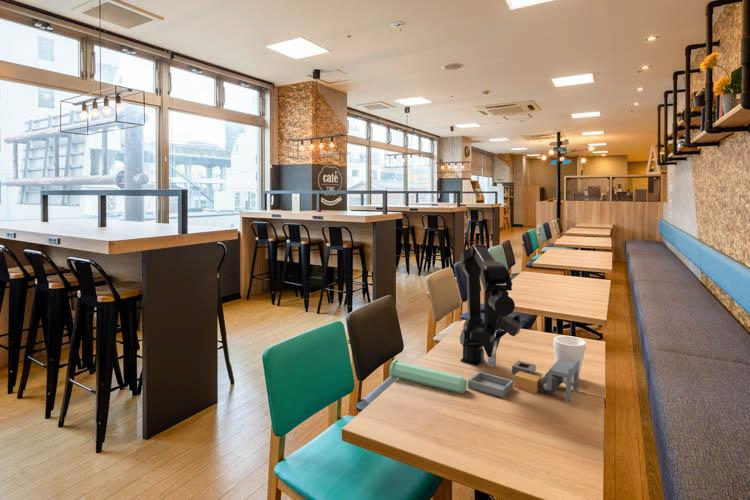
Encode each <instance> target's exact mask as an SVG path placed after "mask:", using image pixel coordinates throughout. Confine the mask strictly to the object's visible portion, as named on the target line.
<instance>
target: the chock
mask: <svg viewBox="0 0 750 500" xmlns="http://www.w3.org/2000/svg"><path fill="white" fill-rule="evenodd" d="M542 378H543V376H539V375H535V374H533V375H532V374H528V373H525V372H521V371H519V372H518V373H516V374H514V375H513V388H516V389H520V390H524V391H527V392H529V393H532V394H533V393H534V394H537V393H539V391H540V389H539V387H538V383H539V381H540V380H541V379H542Z"/></svg>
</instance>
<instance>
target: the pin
mask: <svg viewBox="0 0 750 500" xmlns="http://www.w3.org/2000/svg"><path fill="white" fill-rule="evenodd" d="M496 344H497V340H496V341H495V342H494V347H493V353H492V357H488V356H487V366H488V367H491V368H495V367H496V366H497V365H496V364H497V350H496Z"/></svg>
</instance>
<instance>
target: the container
mask: <svg viewBox="0 0 750 500" xmlns="http://www.w3.org/2000/svg"><path fill="white" fill-rule="evenodd" d="M388 370H389V371H388V373H389V374H388V375H389V377H390V378H399V379H402V380H404V381H405V380H406V381H411V382H413V383H417V384H422V385H426V386H430V387H433V388H437V389H441V390H446V391H451V392H453V393H459V394H463V393H465V392H466V389H467V388H468V379H466V378H465V377H464V376H462V375H457V374H453V373H449V372H444V371H440V370H436V369H431V368H427V367H424V366H423V367H422V366H419V365H413V364H410V363H405V362H400V361H399V360H398V359H393V360H392V361H391V363H390V365H389V368H388Z"/></svg>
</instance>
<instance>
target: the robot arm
mask: <svg viewBox="0 0 750 500" xmlns="http://www.w3.org/2000/svg"><path fill="white" fill-rule="evenodd" d="M459 262H460V265H461V270H462V271H463V273H464V274H465V276H466V292H467V293H466V295H467V299H466V301H467V317H466V320H465V321H464V323H463V326H462V327H463V329H462V330H461V332H460V335H459V343H460V344H461V346H462V358H461V359H460V362H463V363H466V364H470V365H474V366H479V365H480V364H481V363H482V362H484V361H485V358H484V357H485V353H486V356H487V358H488V357H492V353H493V347H494V342H495V341H496V340H497V344H496V351H497V350H498V347H499V345H500V341H501V338H502V337H504V336H505V335H507V334H508V335H509V336H512V337H516V336H517V335H518V334H520V331H521V329H522V328H523V327H524V326H523V325H524V324H523V320H522V316H521V315H518V314H516V315H515V316H512V315H511V314H512V313H514V310H515V307H516V304H515V301H514V300H513V298H511V297H510V296H509V292H510V291H512V290H513V288H512V286H513V281H512V278H511V275H510V272H509V270H508V268H507V267H506V266H505V264H503V263H502V262H498V261H496V259H495V258H494V257H493V256H492V255H491V253H490V252H489V249H488V246H487V245H485V244H472V245H471V246H469V247H468V248H467V249H464V250H462V252H461V254H460V257H459ZM481 283H482V288H483V290H484V291H483V293H484V294H483V308H482V307H481V306H482V305H481V301H482V300H481ZM508 291H509V292H508ZM482 315H483V316H482ZM509 315H510V316H509Z"/></svg>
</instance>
